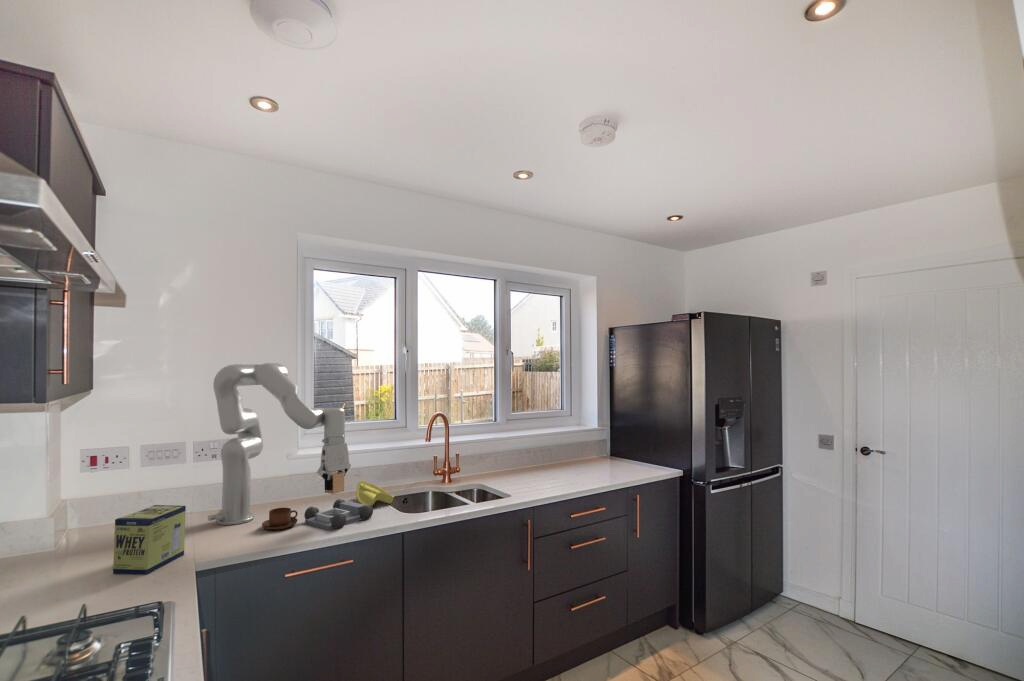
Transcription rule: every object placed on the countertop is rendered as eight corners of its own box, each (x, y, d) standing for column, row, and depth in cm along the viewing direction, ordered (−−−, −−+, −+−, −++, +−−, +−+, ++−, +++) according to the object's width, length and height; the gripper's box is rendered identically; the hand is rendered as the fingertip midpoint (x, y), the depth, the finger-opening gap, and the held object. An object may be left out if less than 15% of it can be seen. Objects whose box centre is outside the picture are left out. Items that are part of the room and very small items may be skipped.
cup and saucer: (284, 520, 193) (284, 504, 193) (304, 525, 187) (304, 508, 187) (254, 529, 183) (255, 511, 183) (274, 534, 177) (275, 517, 177)
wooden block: (333, 494, 188) (333, 475, 188) (324, 492, 190) (324, 473, 191) (344, 491, 192) (344, 472, 192) (335, 489, 195) (335, 471, 195)
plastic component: (396, 497, 217) (376, 491, 211) (388, 515, 214) (368, 508, 208) (376, 485, 232) (357, 479, 226) (368, 501, 230) (349, 495, 224)
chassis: (332, 531, 180) (332, 516, 180) (302, 522, 189) (302, 508, 190) (374, 516, 197) (375, 503, 197) (345, 510, 206) (345, 497, 207)
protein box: (111, 574, 142) (113, 519, 143) (153, 554, 158) (155, 504, 159) (146, 575, 142) (148, 519, 143) (185, 554, 157) (186, 504, 158)
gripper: (321, 444, 183) (321, 494, 182) (358, 438, 197) (358, 484, 196) (309, 442, 187) (308, 492, 186) (346, 437, 201) (346, 482, 200)
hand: (334, 487), depth 191 cm, fingers closed on wooden block, 5 cm apart
